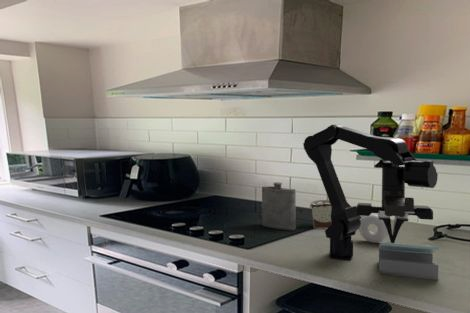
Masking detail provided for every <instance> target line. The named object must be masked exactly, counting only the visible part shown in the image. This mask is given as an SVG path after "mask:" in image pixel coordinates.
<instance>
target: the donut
mask: <svg viewBox="0 0 470 313" xmlns="http://www.w3.org/2000/svg"><path fill="white" fill-rule="evenodd" d="M360 221H361V225H360V227H359V229H358V232H359V234H360V236H361V237H362V238H363V239H364V240H366V241H367V242H369V243H373V244H378V243H383V241H385V239H387V238H388V237H389V234H388V231H387V228H386V226H385V224H384V222H383V220H379V218H378V214H377V213H372V214H370V215H369V216H361V219H360ZM370 225H375V226H376V227H377V231H376V232H372V231H371V230H370V228H369V227H370Z"/></svg>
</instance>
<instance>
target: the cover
mask: <svg viewBox="0 0 470 313" xmlns="http://www.w3.org/2000/svg"><path fill="white" fill-rule="evenodd" d="M378 247H379V248H378V250H379V249H386V250H397V251H408V252H419V253H431V254H434V253H436V252H438V251H439V250H440V249H439V247H437V246H433V245H429V244H423V245H416V244H415V245H413V244H401V243H395V242H394V243H391V241H386V242H380V244H379V245H378Z"/></svg>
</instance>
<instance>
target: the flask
mask: <svg viewBox="0 0 470 313" xmlns="http://www.w3.org/2000/svg"><path fill="white" fill-rule="evenodd" d="M272 184H273V186H266V185H265V186H261V214H262V216H261V218H262V219H261V220H262V223H261V224H262V225H261V226H262V227H266V228H271V229H276V230H283V231H296V230H295V229H296V227H297V226H296V224H297V223H296V221H297V220H296V214H297V213H296V205H297V204H296V203H297V202H296V200H297V199H296V188H285V187H282V185H283V183H282V182H278V181H277V182H273V183H272Z"/></svg>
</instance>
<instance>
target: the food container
mask: <svg viewBox="0 0 470 313" xmlns="http://www.w3.org/2000/svg"><path fill="white" fill-rule="evenodd" d="M309 209H310V210H311V214H312V215H311V216H312V225H313V229H327V228H328V227H330V226H331V225H332V222H331V209H332V207H331V204H330V201H329V199H318V200H317V199H316V200H313V201H311V203H310V205H309Z"/></svg>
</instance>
